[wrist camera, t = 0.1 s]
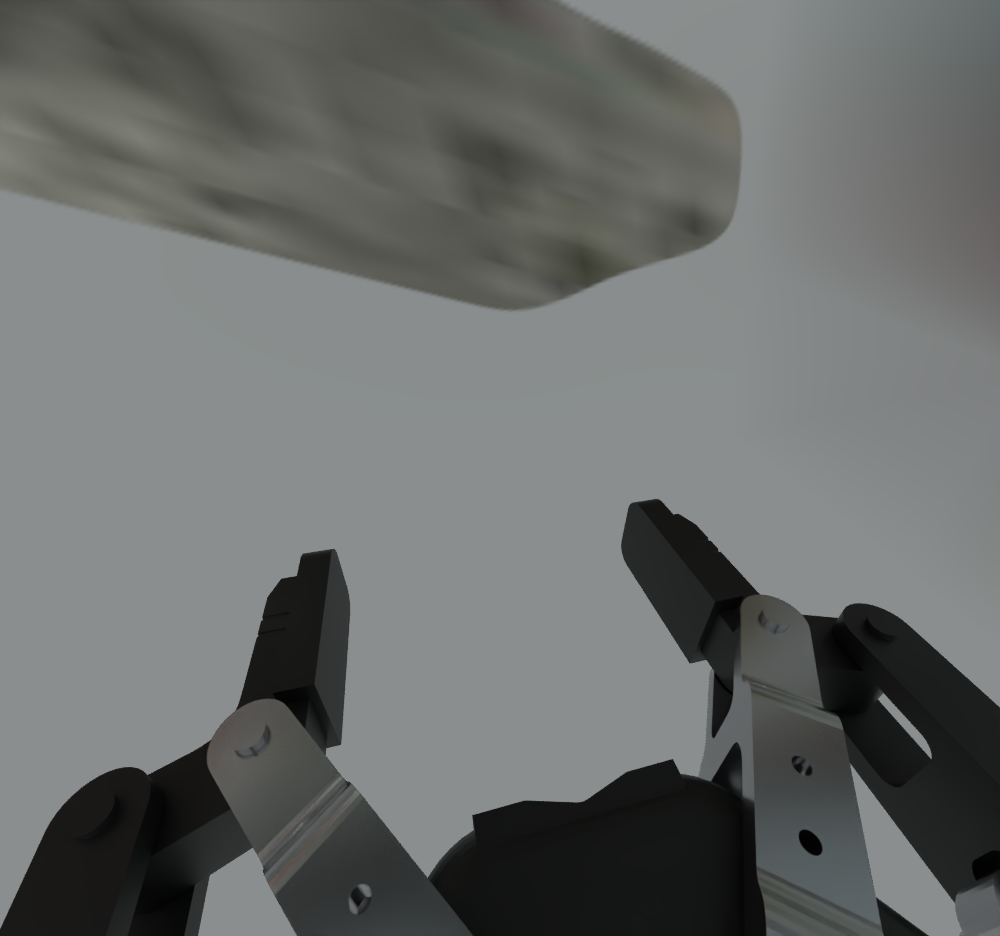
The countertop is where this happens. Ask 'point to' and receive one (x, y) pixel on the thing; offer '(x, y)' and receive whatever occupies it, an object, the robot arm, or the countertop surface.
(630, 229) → the countertop surface
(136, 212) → the countertop surface
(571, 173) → the countertop surface
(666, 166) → the countertop surface
